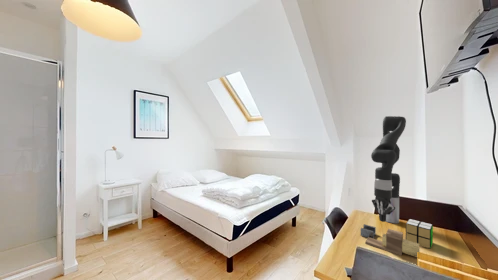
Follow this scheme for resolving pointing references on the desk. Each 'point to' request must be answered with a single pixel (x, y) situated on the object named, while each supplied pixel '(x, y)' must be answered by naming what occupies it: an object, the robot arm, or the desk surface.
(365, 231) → the cradle
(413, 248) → the axle bar
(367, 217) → the desk surface
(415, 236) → the puzzle cube
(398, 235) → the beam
